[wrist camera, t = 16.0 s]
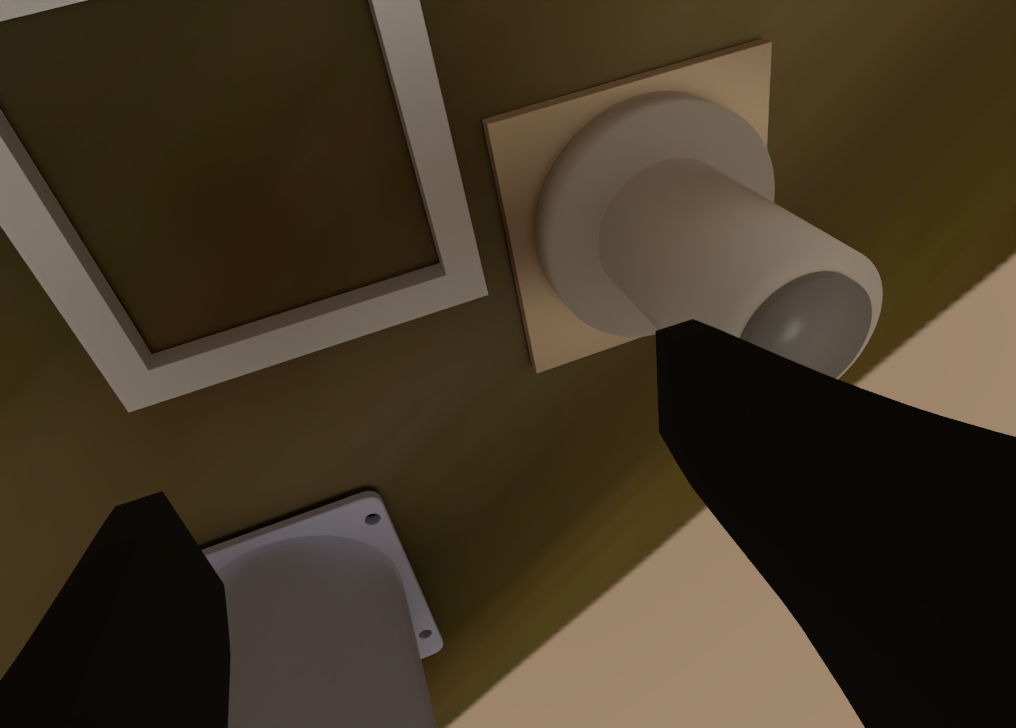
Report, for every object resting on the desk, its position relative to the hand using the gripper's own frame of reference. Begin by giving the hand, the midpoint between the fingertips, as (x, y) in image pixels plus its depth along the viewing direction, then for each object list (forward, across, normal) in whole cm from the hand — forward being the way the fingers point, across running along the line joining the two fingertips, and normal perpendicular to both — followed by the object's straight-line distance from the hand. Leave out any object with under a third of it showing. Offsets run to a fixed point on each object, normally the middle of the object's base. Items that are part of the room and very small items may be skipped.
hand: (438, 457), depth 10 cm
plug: (+9, -8, +2) cm, 13 cm away
